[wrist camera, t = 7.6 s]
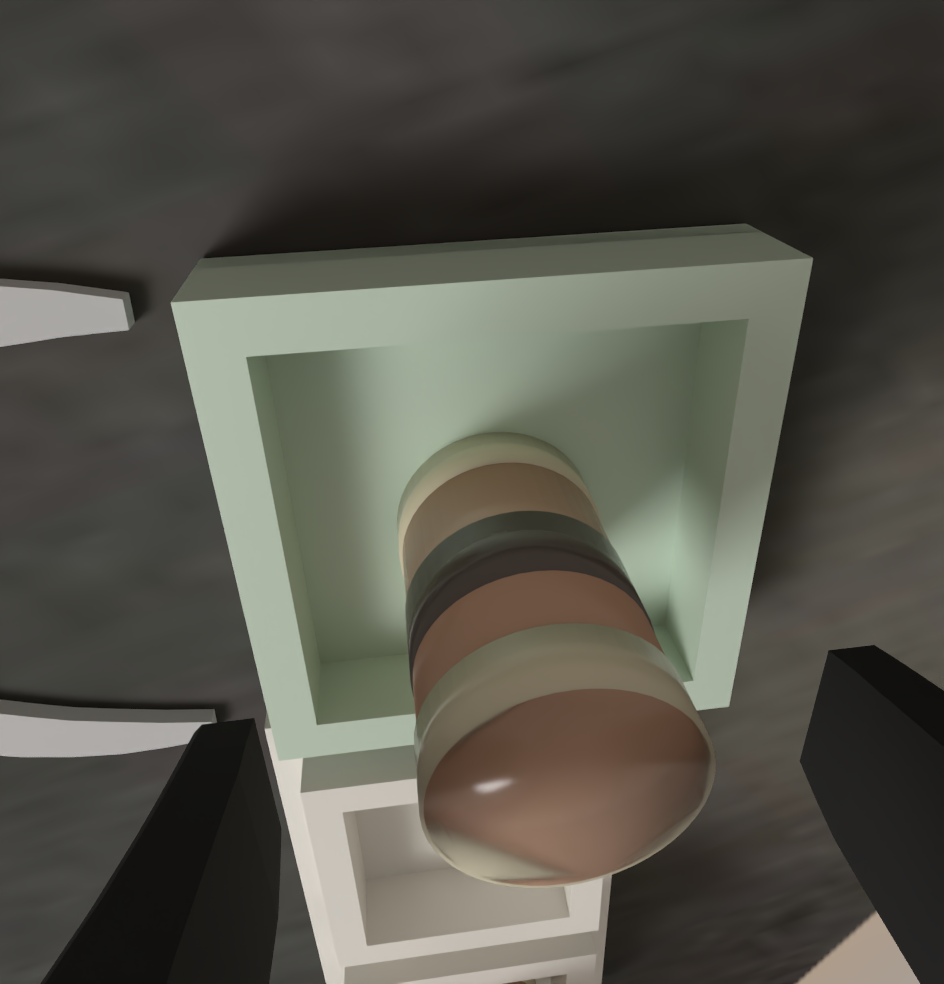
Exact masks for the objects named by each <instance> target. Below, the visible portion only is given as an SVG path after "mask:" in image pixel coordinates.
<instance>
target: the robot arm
mask: <svg viewBox="0 0 944 984" xmlns="http://www.w3.org/2000/svg"><path fill="white" fill-rule="evenodd" d="M800 763H801V765H802V767H803V770H804V772H805V774H806V777H807V779H808V781H809V784H810V786H811V788H812V791H813V793H814V795H815V798H816V800H817V802H818V805H819V807H820V809H821V811H822V813H823V815H824V818H825V820H826V822H827V824H828V826H829V828H830V831H831V833H832V835H833V837H834V839H835V841H836V842H837V844H838V846H839V848H840V849H841V851H842V853H843V855H844V856H845V858H846V860H847V862H848V863H849V865H850V867H851V868H852V870H853V872H854V873H855V875H856V877H857V879H858V880H859V882H860V884H861V885H862V887H863V889H864V890H865V892H866V894H867V896H868V897H869V899H870V901H871V902H872V904H873V906H874V907H875V909H876V911H877V912H878V914H879V915H880V917H881V919H882V921H883V922H884V924H885V925H886V927H887V929H888V931H889V932H890V934H891V936H892V937H893V939H894V940H895V942H896V944H897V946H898V947H899V949H900V951H901V952H902V954H903V955H904V957H905V959H906V961H907V962H908V964H909V965H910V967H911V969H912V970H913V972H914V974H915V976H916V977H917V979H918V980H919V982H920V984H944V691H943V690H942V689H940V688H939V687H937V686H936V685H934V684H933V683H931V682H930V681H928V680H927V679H925V678H924V677H922V676H921V675H919V674H918V673H916V672H915V671H913V670H912V669H910V668H909V667H907V666H906V665H904V664H903V663H901V662H900V661H898V660H897V659H895V658H894V657H892V656H891V655H889V654H887V653H886V652H884V651H883V650H881V649H879V648H878V647H876V646H875V645H871V646H863V647H854V648H846V649H837V650H829V651H828V655H827V659H826V663H825V667H824V671H823V674H822V678H821V682H820V686H819V690H818V694H817V697H816V701H815V705H814V709H813V713H812V717H811V720H810V724H809V728H808V732H807V736H806V739H805V743H804V747H803V751H802V755H801V759H800ZM280 857H281V825H280V821H279V817H278V813H277V809H276V805H275V801H274V797H273V793H272V789H271V785H270V781H269V777H268V773H267V769H266V765H265V761H264V757H263V753H262V749H261V745H260V741H259V736H258V732H257V728H256V724H255V720H254V718H252V719H244V720H235V721H227V722H218V723H210V724H202V725H201V726H200V727H199V728H198V729H197V730H196V731H195V732H194V734H193V736H192V738H191V740H190V741H189V743H188V745H187V747H186V749H185V751H184V753H183V755H182V757H181V758H180V760H179V762H178V764H177V766H176V768H175V769H174V771H173V773H172V775H171V777H170V779H169V780H168V782H167V784H166V786H165V788H164V789H163V791H162V793H161V795H160V796H159V798H158V800H157V802H156V803H155V805H154V807H153V809H152V810H151V812H150V814H149V815H148V817H147V819H146V821H145V822H144V824H143V826H142V827H141V829H140V831H139V833H138V834H137V836H136V838H135V839H134V841H133V842H132V844H131V846H130V847H129V849H128V851H127V852H126V854H125V855H124V857H123V859H122V860H121V862H120V863H119V865H118V867H117V868H116V870H115V872H114V873H113V875H112V876H111V878H110V880H109V881H108V883H107V884H106V886H105V888H104V889H103V891H102V893H101V894H100V896H99V897H98V899H97V901H96V902H95V904H94V905H93V907H92V908H91V910H90V911H89V913H88V914H87V916H86V918H85V919H84V921H83V922H82V924H81V925H80V926H79V928H78V929H77V931H76V932H75V934H74V935H73V937H72V938H71V940H70V941H69V943H68V944H67V946H66V947H65V949H64V950H63V951H62V953H61V954H60V956H59V957H58V959H57V960H56V962H55V963H54V965H53V966H52V968H51V969H50V971H49V972H48V974H47V975H46V976H45V978H44V979H43V981H42V982H41V984H269V979H270V972H271V965H272V958H273V951H274V943H275V936H276V928H277V921H278V908H279V885H280Z"/></svg>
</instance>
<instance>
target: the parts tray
mask: <svg viewBox="0 0 944 984" xmlns="http://www.w3.org/2000/svg"><path fill="white" fill-rule="evenodd" d="M812 263H813V258H812V257H810V256H808V255H806V254H804V253H802V252H800V251H799V250H797V249H795V248H793V247H791V246H789V245H787V244H785V243H783V242H781V241H779V240H777V239H775V238H773V237H771V236H769V235H767V234H765V233H763V232H762V231H760V230H758V229H756V228H754V227H752V226H750V225H748V224H746V223H745V224H730V225H714V226H699V227H683V228H668V229H652V230H637V231H621V232H606V233H590V234H575V235H559V236H544V237H528V238H513V239H497V240H482V241H466V242H451V243H435V244H420V245H404V246H389V247H373V248H358V249H342V250H327V251H311V252H296V253H280V254H265V255H249V256H234V257H218V258H203V259H200V260H199V261H198V263H197V264H196V266H195V267H194V269H193V270H192V272H191V273H190V275H189V276H188V278H187V279H186V281H185V282H184V284H183V285H182V287H181V288H180V290H179V291H178V293H177V294H176V295H175V297H174V298H173V300H172V301H171V306H172V310H173V314H174V318H175V323H176V327H177V331H178V335H179V340H180V344H181V348H182V352H183V357H184V361H185V365H186V369H187V374H188V378H189V382H190V386H191V391H192V395H193V399H194V403H195V407H196V412H197V416H198V420H199V424H200V429H201V433H202V437H203V441H204V446H205V450H206V454H207V458H208V463H209V467H210V471H211V475H212V480H213V484H214V488H215V492H216V497H217V501H218V505H219V509H220V514H221V518H222V522H223V526H224V530H225V535H226V539H227V543H228V547H229V552H230V556H231V560H232V564H233V569H234V573H235V577H236V581H237V586H238V590H239V594H240V598H241V603H242V607H243V611H244V615H245V620H246V624H247V628H248V632H249V636H250V641H251V645H252V649H253V653H254V658H255V662H256V666H257V670H258V675H259V679H260V683H261V687H262V692H263V696H264V700H265V704H266V709H267V713H268V717H269V721H270V726H271V730H272V734H273V738H274V742H275V747H276V751H277V755H278V759H279V761H283V760H291V759H299V758H308V757H316V756H324V755H332V754H341V753H349V752H357V751H365V750H374V749H382V748H390V747H398V746H407V745H414V730H415V725H416V716H415V704H414V697H413V693H412V688H411V682H410V669H409V657H408V644H407V631H406V619H405V604H406V594H405V582H404V576H403V574H402V570H401V565H400V558H399V545H398V532H397V514H398V506H399V503H400V500H401V496H402V494H403V491H404V489H405V487H406V485H407V483H408V482H409V480H410V479H411V477H412V476H413V474H414V473H415V472H416V471H417V469H418V468H419V467H420V466H421V465H422V464H423V463H424V462H425V461H426V460H427V459H428V458H430V457H431V456H432V455H433V454H435V453H436V452H438V451H439V450H441V449H442V448H444V447H446V446H448V445H450V444H452V443H453V442H456V441H458V440H461V439H464V438H466V437H470V436H474V435H478V434H484V433H491V432H511V433H520V434H524V435H529V436H532V437H535V438H538V439H540V440H543V441H545V442H547V443H549V444H551V445H552V446H554V447H555V448H557V449H558V450H560V451H561V452H562V453H564V454H565V455H566V456H567V457H568V458H569V459H570V460H571V461H572V463H573V464H574V465H575V467H576V468H577V469H578V471H579V473H580V475H581V477H582V479H583V481H584V483H585V485H586V487H587V489H588V491H589V493H590V495H591V497H592V499H593V501H594V503H595V505H596V507H597V509H598V512H599V515H600V518H601V523H602V526H603V528H604V530H605V532H606V535H607V537H608V539H609V541H610V543H611V545H612V546H613V547H614V549H615V550H616V552H617V553H618V555H619V557H620V559H621V561H622V563H623V565H624V567H625V569H626V571H627V573H628V575H629V577H630V579H631V581H632V583H633V585H634V587H635V589H636V592H637V594H638V596H639V598H640V600H641V602H642V604H643V606H644V608H645V610H646V612H647V614H648V616H649V618H650V620H651V623H652V626H653V629H654V632H655V635H656V638H657V640H658V642H659V644H660V646H661V648H662V650H663V652H664V654H665V655H666V657H667V658H668V659H669V660H670V662H671V663H672V664H673V665H674V667H675V668H676V670H677V672H678V674H679V676H680V678H681V680H682V682H683V684H684V686H685V688H686V690H687V692H688V694H689V696H690V698H691V700H692V702H693V704H694V706H695V708H696V710H704V709H712V708H721V707H729V703H730V698H731V693H732V687H733V682H734V677H735V671H736V666H737V661H738V655H739V650H740V645H741V639H742V634H743V629H744V624H745V618H746V613H747V608H748V602H749V597H750V592H751V586H752V581H753V576H754V570H755V565H756V560H757V555H758V549H759V544H760V539H761V533H762V528H763V523H764V517H765V512H766V507H767V501H768V496H769V491H770V486H771V480H772V475H773V470H774V464H775V459H776V454H777V448H778V443H779V438H780V432H781V427H782V422H783V417H784V411H785V406H786V401H787V395H788V390H789V385H790V379H791V374H792V369H793V363H794V358H795V353H796V348H797V342H798V337H799V332H800V326H801V321H802V316H803V310H804V305H805V300H806V294H807V289H808V284H809V278H810V273H811V268H812Z"/></svg>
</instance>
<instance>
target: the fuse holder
mask: <svg viewBox="0 0 944 984" xmlns="http://www.w3.org/2000/svg"><path fill="white" fill-rule="evenodd" d="M265 733H266V737H267V741H268V745H269V749H270V753H271V758H272V762H273V766H274V770H275V774H276V778H277V782H278V786H279V791H280V795H281V799H282V803H283V807H284V811H285V815H286V819H287V824H288V828H289V832H290V836H291V840H292V844H293V848H294V853H295V857H296V861H297V865H298V869H299V873H300V877H301V881H302V886H303V890H304V894H305V898H306V902H307V906H308V910H309V914H310V919H311V923H312V927H313V931H314V935H315V939H316V943H317V948H318V952H319V956H320V960H321V964H322V968H323V972H324V976H325V981H326V984H504V983H511V982H518V981H524V980H531V979H535V981H536V984H601V983H602V972H603V962H604V951H605V941H606V931H607V920H608V910H609V899H610V889H611V878H612V875H609V876H606V877H603V878H600V879H597V880H593V881H589V882H585V883H580V884H575V885H569V886H562V887H552V888H520V887H510V886H504V885H497V884H493V883H490V882H486V881H482V880H479V879H477V878H474V877H472V876H469V875H467V874H465V873H463V872H461V871H459V870H458V869H456V868H454V867H453V866H451V865H450V864H449V863H447V862H446V861H445V860H443V859H442V858H441V857H440V856H439V855H438V854H437V853H436V852H435V851H434V849H433V848H432V846H431V845H430V843H429V842H428V840H427V839H426V836H425V834H424V832H423V829H422V826H421V821H420V816H419V806H418V793H417V780H416V766H415V753H414V745H407V746H398V747H390V748H382V749H374V750H365V751H357V752H349V753H341V754H332V755H324V756H316V757H308V758H299V759H291V760H283V761H279V759H278V755H277V751H276V747H275V742H274V738H273V734H272V730H271V726H270V721H269V717H268V713H267V714H266V722H265Z"/></svg>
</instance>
